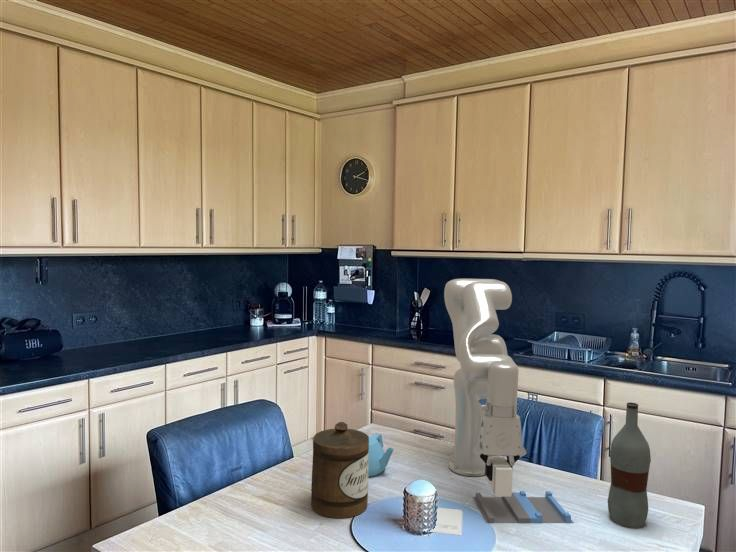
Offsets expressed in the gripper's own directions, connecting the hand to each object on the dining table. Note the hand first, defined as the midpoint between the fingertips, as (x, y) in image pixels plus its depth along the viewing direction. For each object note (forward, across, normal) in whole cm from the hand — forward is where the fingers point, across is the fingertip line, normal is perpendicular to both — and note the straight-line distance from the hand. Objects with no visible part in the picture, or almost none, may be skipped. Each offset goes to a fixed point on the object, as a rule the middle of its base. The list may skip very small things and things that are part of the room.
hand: (498, 477), depth 141 cm
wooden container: (+9, -41, +3) cm, 42 cm away
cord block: (+2, 0, 0) cm, 2 cm away
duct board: (+9, +6, -1) cm, 11 cm away
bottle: (+9, +32, -5) cm, 34 cm away
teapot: (+10, -34, +26) cm, 44 cm away
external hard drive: (+9, -15, -7) cm, 19 cm away
